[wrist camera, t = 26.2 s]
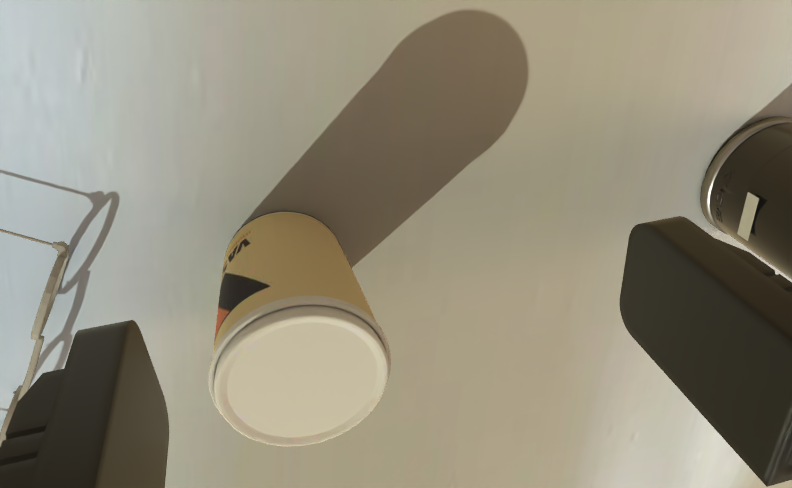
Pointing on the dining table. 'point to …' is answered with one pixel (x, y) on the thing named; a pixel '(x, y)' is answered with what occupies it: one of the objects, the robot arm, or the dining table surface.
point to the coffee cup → (294, 336)
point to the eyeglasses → (39, 321)
